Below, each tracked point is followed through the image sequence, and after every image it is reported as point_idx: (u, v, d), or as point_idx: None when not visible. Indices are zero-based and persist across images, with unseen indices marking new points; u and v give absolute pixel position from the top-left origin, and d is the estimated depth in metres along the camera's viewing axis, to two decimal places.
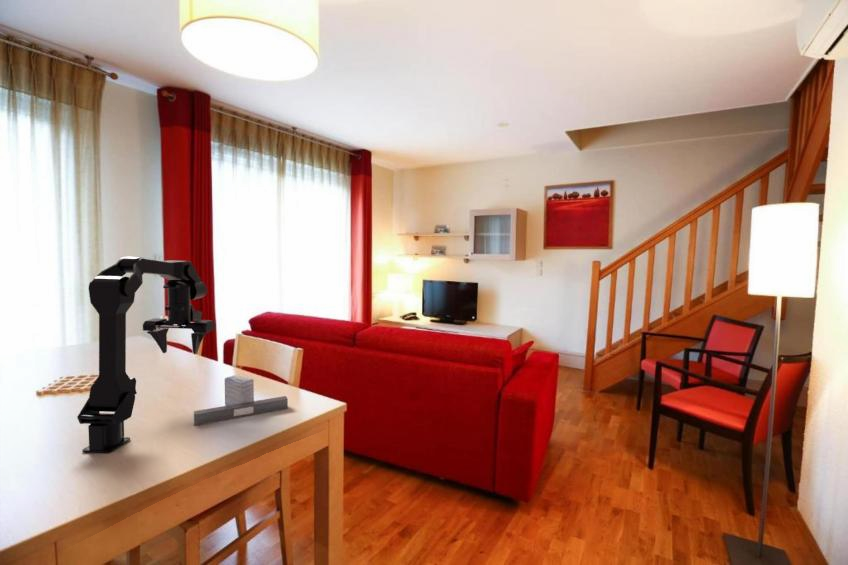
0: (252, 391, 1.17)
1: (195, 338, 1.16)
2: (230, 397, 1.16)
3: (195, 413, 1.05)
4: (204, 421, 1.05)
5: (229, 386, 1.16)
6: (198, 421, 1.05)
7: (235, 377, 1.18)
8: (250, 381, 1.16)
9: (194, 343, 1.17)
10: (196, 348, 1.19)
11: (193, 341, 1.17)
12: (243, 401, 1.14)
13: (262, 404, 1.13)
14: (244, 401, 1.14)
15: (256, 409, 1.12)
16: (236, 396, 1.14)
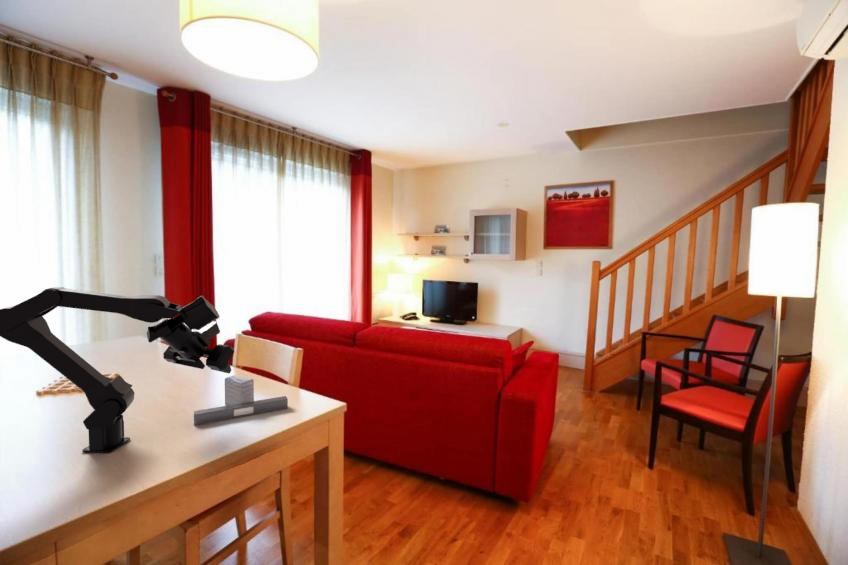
0: (252, 391, 1.17)
1: (217, 370, 1.01)
2: (230, 397, 1.16)
3: (195, 413, 1.05)
4: (204, 421, 1.05)
5: (229, 386, 1.16)
6: (198, 421, 1.05)
7: (235, 377, 1.18)
8: (250, 381, 1.16)
9: (221, 371, 1.03)
10: (227, 370, 1.05)
11: None
12: (243, 401, 1.14)
13: (262, 404, 1.13)
14: (244, 401, 1.14)
15: (256, 409, 1.12)
16: (236, 396, 1.14)
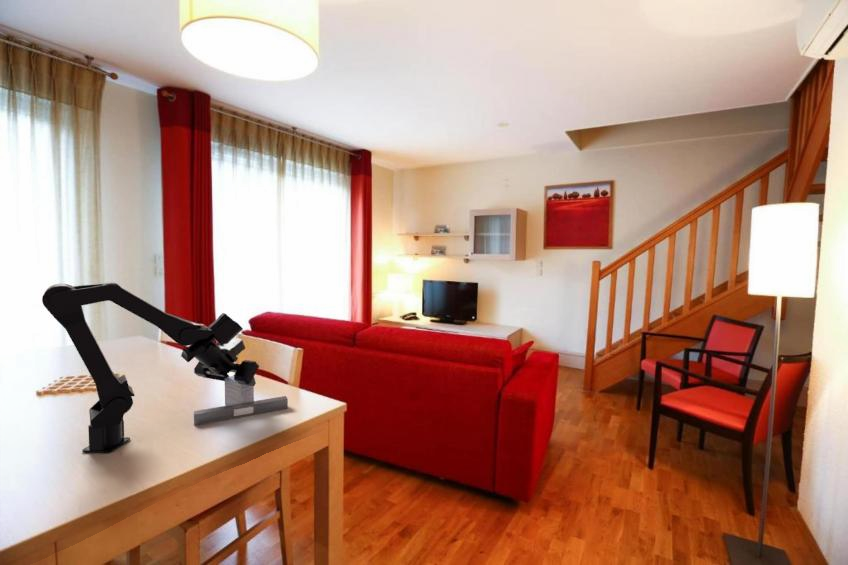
0: (252, 391, 1.17)
1: (244, 384, 1.10)
2: (230, 397, 1.16)
3: (195, 413, 1.05)
4: (204, 421, 1.05)
5: (229, 386, 1.16)
6: (198, 421, 1.05)
7: None
8: None
9: (246, 384, 1.12)
10: (252, 383, 1.14)
11: None
12: (243, 401, 1.14)
13: (262, 404, 1.13)
14: (244, 401, 1.14)
15: (256, 409, 1.12)
16: (236, 396, 1.14)
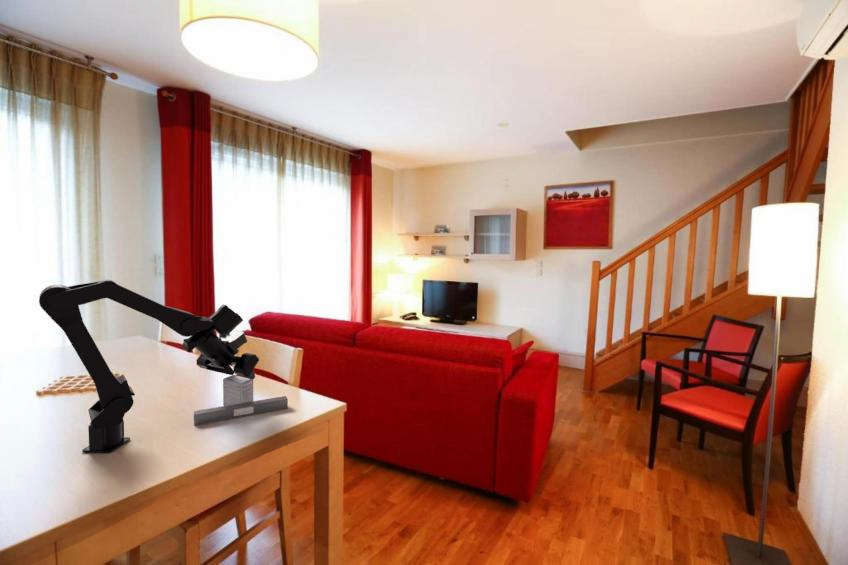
0: (252, 391, 1.17)
1: None
2: (229, 398, 1.16)
3: (195, 413, 1.05)
4: (204, 421, 1.05)
5: (228, 386, 1.15)
6: (198, 421, 1.05)
7: (234, 377, 1.18)
8: (250, 381, 1.16)
9: (245, 377, 1.12)
10: (251, 377, 1.15)
11: None
12: (244, 401, 1.14)
13: (262, 404, 1.13)
14: (244, 401, 1.15)
15: (256, 409, 1.12)
16: (237, 396, 1.14)
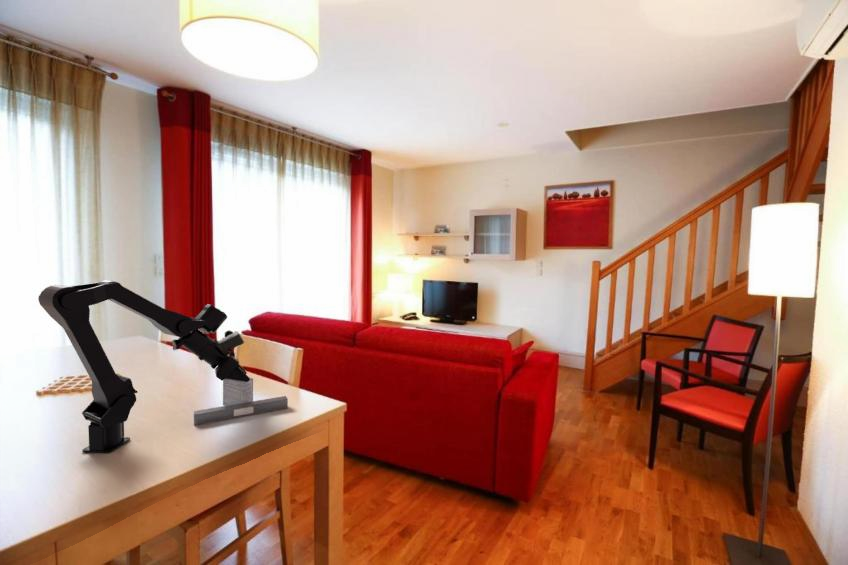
0: (252, 390, 1.17)
1: None
2: (229, 397, 1.16)
3: (195, 413, 1.05)
4: (204, 421, 1.05)
5: (228, 385, 1.16)
6: (198, 421, 1.05)
7: None
8: (250, 380, 1.16)
9: None
10: (242, 379, 1.13)
11: None
12: (243, 400, 1.15)
13: (262, 404, 1.13)
14: (244, 400, 1.15)
15: (256, 409, 1.12)
16: (236, 395, 1.14)
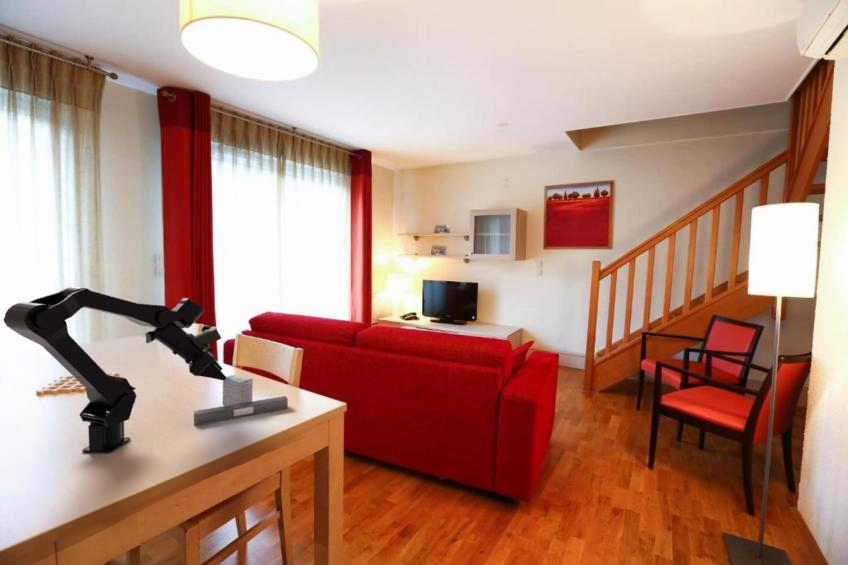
0: (251, 391, 1.17)
1: None
2: (229, 397, 1.16)
3: (195, 413, 1.05)
4: (204, 421, 1.05)
5: (228, 385, 1.16)
6: (198, 421, 1.05)
7: (234, 376, 1.18)
8: (249, 381, 1.16)
9: None
10: (218, 377, 1.09)
11: None
12: (242, 400, 1.14)
13: (262, 404, 1.13)
14: (243, 400, 1.14)
15: (256, 409, 1.12)
16: (235, 395, 1.14)
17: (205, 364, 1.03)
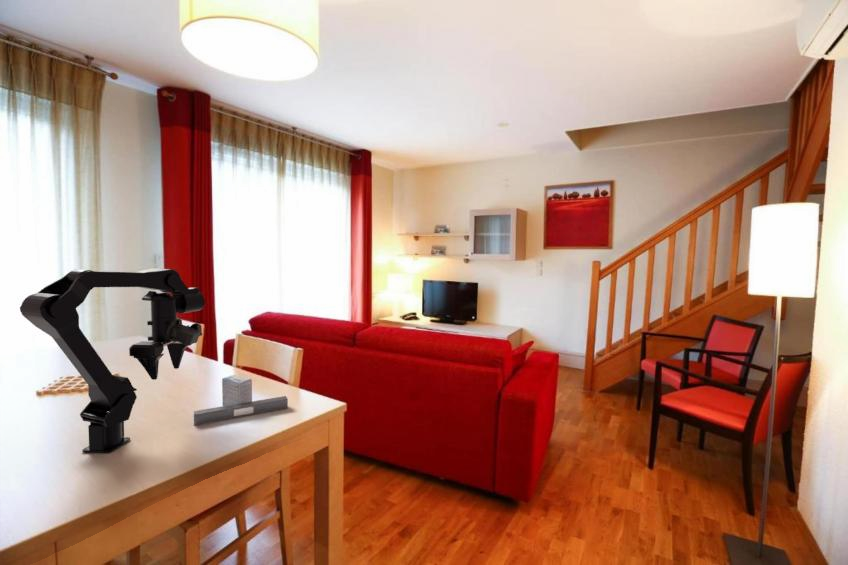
0: (250, 391, 1.17)
1: None
2: (228, 397, 1.16)
3: (195, 413, 1.05)
4: (204, 421, 1.05)
5: (227, 386, 1.16)
6: (198, 421, 1.05)
7: (233, 377, 1.18)
8: (249, 381, 1.16)
9: None
10: (149, 373, 1.00)
11: None
12: (242, 401, 1.14)
13: (262, 404, 1.13)
14: (243, 401, 1.14)
15: (256, 409, 1.12)
16: (235, 396, 1.14)
17: (143, 354, 0.95)
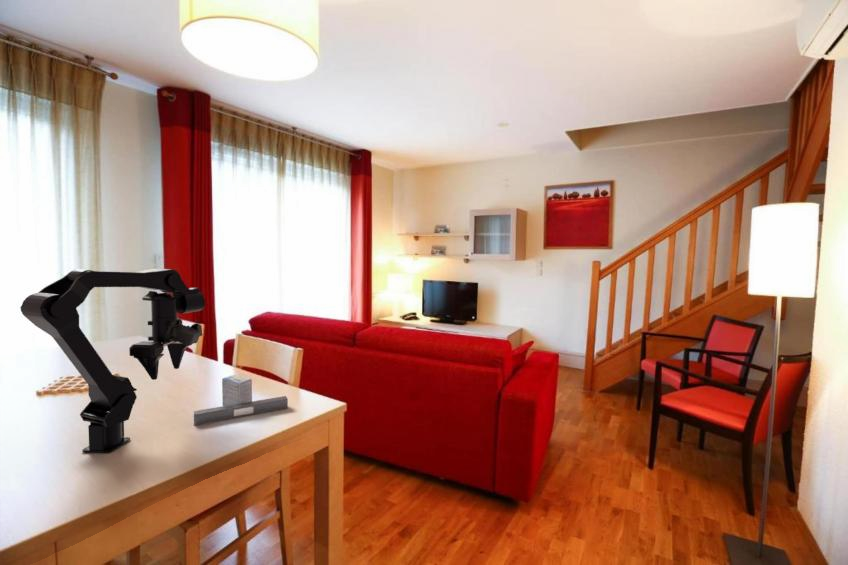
0: (250, 391, 1.17)
1: None
2: (228, 398, 1.16)
3: (195, 413, 1.05)
4: (204, 421, 1.05)
5: (227, 386, 1.16)
6: (198, 421, 1.05)
7: (233, 377, 1.18)
8: (249, 381, 1.16)
9: None
10: (149, 373, 1.00)
11: None
12: (242, 401, 1.14)
13: (262, 404, 1.13)
14: (243, 401, 1.14)
15: (256, 409, 1.12)
16: (235, 396, 1.14)
17: (143, 354, 0.95)
